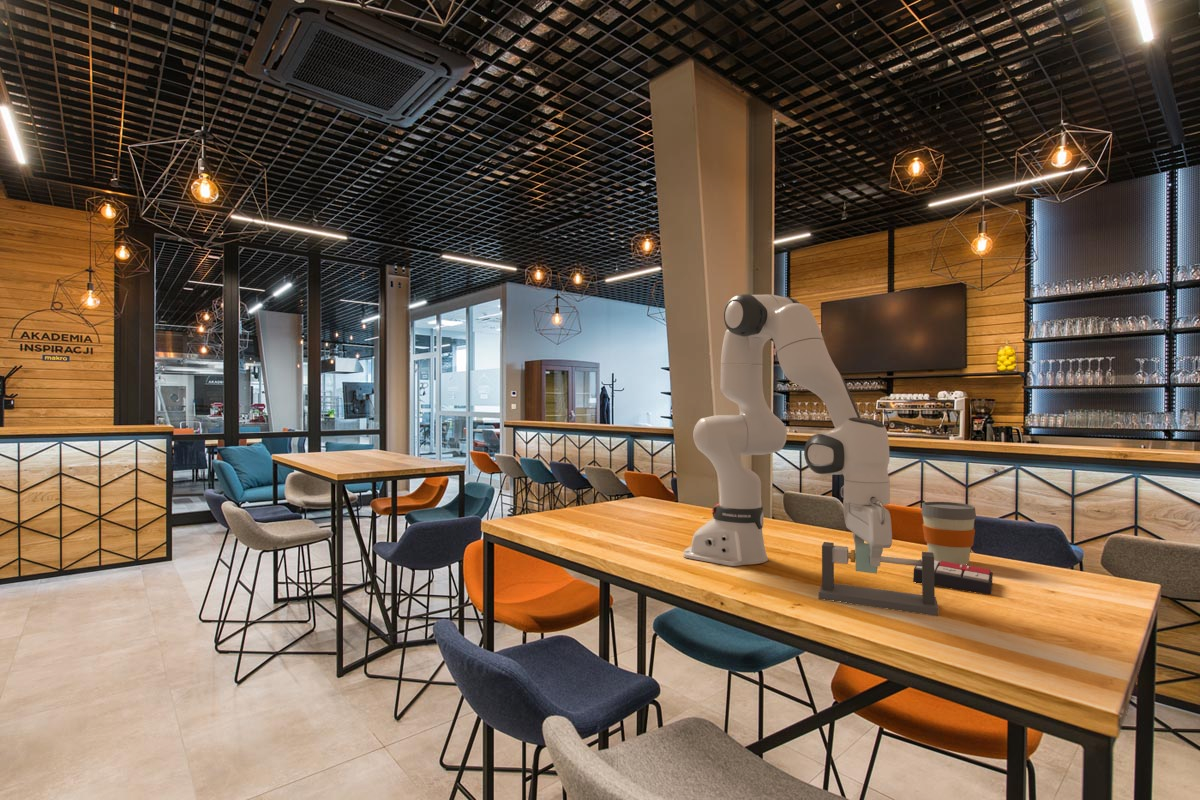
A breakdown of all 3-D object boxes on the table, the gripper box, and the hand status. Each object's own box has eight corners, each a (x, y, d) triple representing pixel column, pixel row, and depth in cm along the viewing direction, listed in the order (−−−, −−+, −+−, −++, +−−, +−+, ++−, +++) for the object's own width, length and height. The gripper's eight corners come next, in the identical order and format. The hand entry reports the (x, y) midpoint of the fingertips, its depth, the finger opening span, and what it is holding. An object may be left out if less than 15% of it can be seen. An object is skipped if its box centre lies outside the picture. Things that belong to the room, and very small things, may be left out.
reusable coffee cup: (975, 559, 154) (974, 503, 154) (978, 570, 143) (977, 510, 144) (922, 553, 161) (921, 500, 161) (921, 563, 150) (920, 506, 150)
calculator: (991, 579, 125) (913, 565, 133) (990, 599, 125) (912, 583, 133) (993, 568, 133) (919, 555, 142) (992, 586, 134) (919, 572, 142)
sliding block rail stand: (818, 599, 122) (818, 547, 122) (823, 588, 129) (822, 539, 129) (938, 616, 112) (937, 559, 112) (935, 603, 119) (935, 550, 119)
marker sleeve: (855, 571, 120) (855, 547, 120) (857, 565, 124) (856, 542, 125) (876, 573, 118) (876, 549, 118) (877, 567, 123) (877, 544, 123)
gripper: (900, 502, 111) (901, 573, 111) (867, 488, 131) (867, 548, 131) (866, 501, 112) (866, 572, 111) (838, 487, 132) (839, 547, 132)
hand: (867, 559), depth 121 cm, fingers open, 8 cm apart
